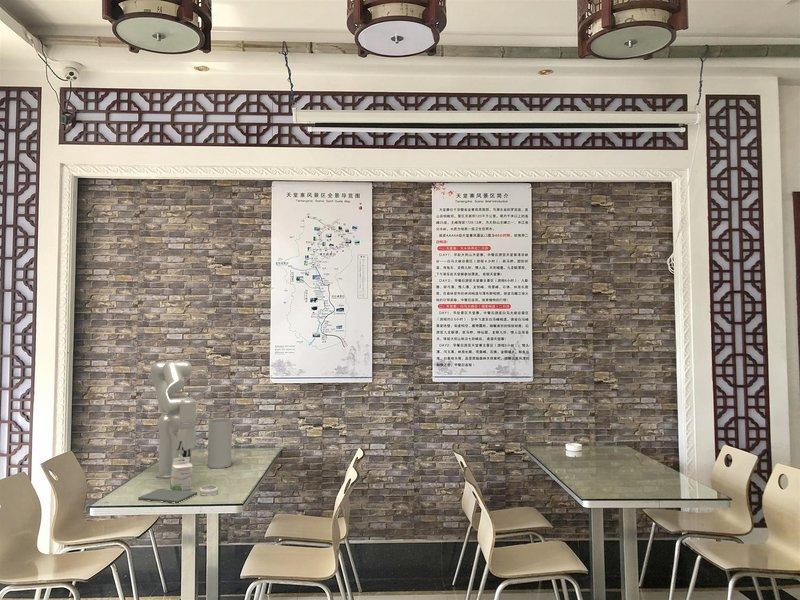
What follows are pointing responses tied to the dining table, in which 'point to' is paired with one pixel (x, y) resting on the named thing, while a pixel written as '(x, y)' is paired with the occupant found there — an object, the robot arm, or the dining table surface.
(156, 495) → the rubber mat
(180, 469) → the ink box
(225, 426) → the cylinder vase
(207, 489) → the white ashtray dish
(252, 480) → the dining table surface
